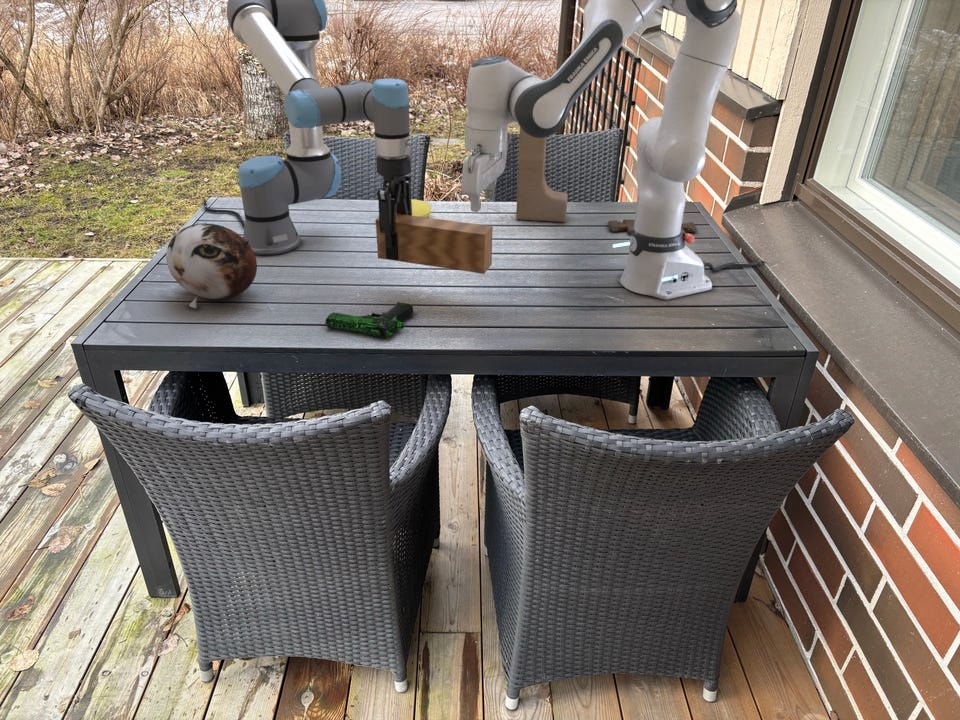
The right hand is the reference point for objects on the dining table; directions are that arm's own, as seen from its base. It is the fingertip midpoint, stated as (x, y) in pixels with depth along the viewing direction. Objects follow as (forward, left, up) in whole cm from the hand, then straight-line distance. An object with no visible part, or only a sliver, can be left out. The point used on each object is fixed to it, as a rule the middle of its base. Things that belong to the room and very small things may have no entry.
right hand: (482, 204), depth 157 cm
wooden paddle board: (-62, -35, -24) cm, 75 cm away
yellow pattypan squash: (+8, -60, -24) cm, 65 cm away
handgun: (+26, +5, -24) cm, 35 cm away
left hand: (+18, -10, -14) cm, 25 cm away
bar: (+10, -5, -15) cm, 18 cm away
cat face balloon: (+60, -17, -24) cm, 67 cm away
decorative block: (-33, -52, -24) cm, 66 cm away
